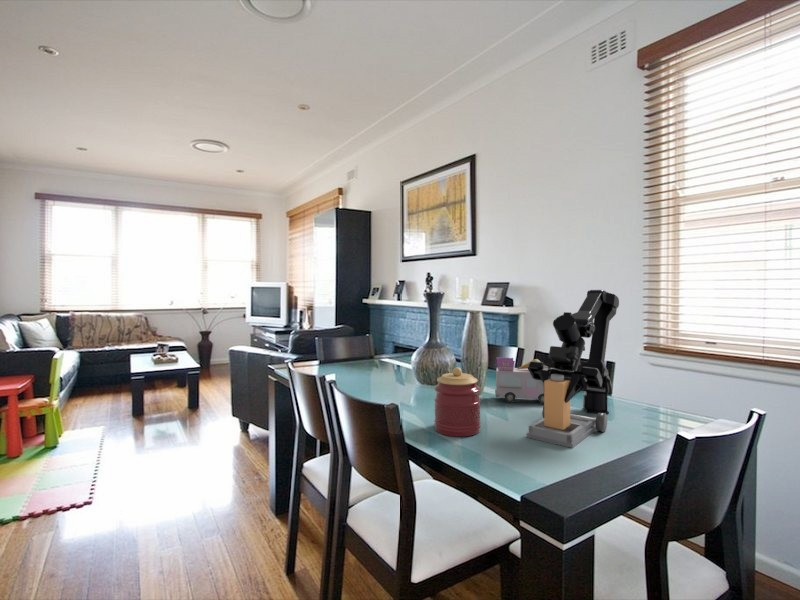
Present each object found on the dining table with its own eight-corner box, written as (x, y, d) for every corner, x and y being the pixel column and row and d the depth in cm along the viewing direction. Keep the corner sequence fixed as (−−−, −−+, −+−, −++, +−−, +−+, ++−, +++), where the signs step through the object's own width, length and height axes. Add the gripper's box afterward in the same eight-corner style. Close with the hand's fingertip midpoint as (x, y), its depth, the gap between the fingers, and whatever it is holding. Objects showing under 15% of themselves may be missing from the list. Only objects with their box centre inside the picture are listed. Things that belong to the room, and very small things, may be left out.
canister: (442, 420, 129) (441, 362, 128) (485, 425, 124) (484, 365, 123) (428, 434, 117) (427, 369, 116) (475, 440, 112) (475, 373, 111)
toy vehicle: (554, 406, 144) (554, 361, 144) (495, 403, 148) (495, 360, 148) (550, 399, 153) (550, 357, 153) (495, 396, 157) (495, 356, 157)
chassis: (550, 417, 131) (550, 401, 131) (608, 428, 120) (608, 411, 120) (518, 435, 115) (518, 416, 115) (582, 450, 104) (582, 429, 104)
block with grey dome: (551, 421, 117) (551, 372, 117) (570, 425, 114) (570, 374, 114) (544, 425, 114) (544, 375, 113) (563, 429, 110) (563, 377, 110)
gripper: (530, 332, 122) (512, 377, 114) (599, 337, 110) (584, 387, 102) (541, 356, 129) (525, 400, 121) (608, 363, 116) (595, 412, 108)
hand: (555, 400), depth 113 cm, fingers closed on block with grey dome, 5 cm apart
